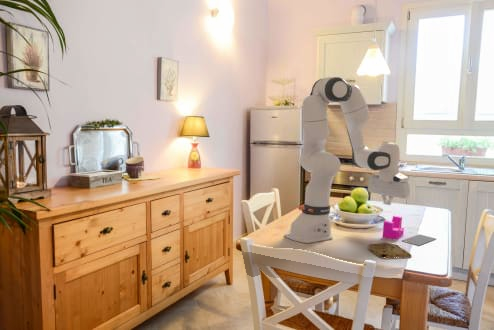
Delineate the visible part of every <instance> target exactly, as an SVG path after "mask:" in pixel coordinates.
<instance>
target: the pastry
mask: <svg viewBox="0 0 494 330" xmlns="http://www.w3.org/2000/svg"><path fill="white" fill-rule="evenodd" d="M367 247H368V248H369V250H370V251H371V252H372V253H373V252H374V253H373V254H375V255H376V256H377V255H378V256H377V257H379V258H380V257H385V258H391V259H397V258H396V257H408V258H407V259H411V258H412V254H411V253H410V252H409V251H407V250H406V249H403V247H402V248H401V246H399V245H397V244H395V243H391V242H382V243H379V242H377V243H370V244H368V245H367ZM394 257H395V258H394ZM385 258H384V259H385Z"/></svg>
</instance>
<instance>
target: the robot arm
mask: <svg viewBox="0 0 494 330" xmlns="http://www.w3.org/2000/svg"><path fill="white" fill-rule="evenodd" d="M331 103H338V104H339V106H340V108H341V111H342V114H343V117H344V121H345V123H346V130H347V131H346V132H347V135H348V139H349V143H350V147H351V159H352V163H353V165H354V166H355V167H357V168H360V169H365V170H369V171H370V170H371V171H378V173H377V174H376V173H372V174H370V175H369V176H368V179H369V180H368V184H367V191H368V193H370V194H372V193H373V194H377V195H381V198H382V201H383V204H384V205H388V206H391V204H392V203H391V202H392V201H393V199H394V198H397V199H398V198H399V199H405V200H406V199H407V198H409V197H410V184H409V179H410V178H409V176H406V175H404V174H403V173H401V172H399V170H400V169H399V164H400V153H401V152H400V146H399V145H398V144H397V143H395V142H388V141H383V142H381V144H380V145H378V146H377V147H375V148H368V147H367V146H366V144H365V141H364V137H363V133H362V128H363V127H364V126H366V124H367V123H368V121H369V120H370V117H371V116H370V115H371V114H370V110H369V106H368V103H367V100H366V99H365V96H364V94H363V93H362V90H361V89H360V88H359V86H358V85H357V84H350V83H348V81H346V80H345V78H342V77H339V76H334V77H331V76H327V77H324V78H323V77H322V78H320V79H318V80H316V81H315V82H314V84H313V85H312V87H311V91H310V93H309V95H308V96H306V97H305V98H304V99H303V100H302V108H301V109H302V110H301V111H302V112H301V114H302V116H301V117H302V118H301V119H302V129H303V148H302V153H301V154H300V156H299V164H300V166H301V168H303V169H304V170H305V171H306V172H308V173H311V174H310V175H311V176H310V180H309V182H308V183H307V185H306V186H305V195H304V198H305V199H304V204H303V205H299V206H297V207H298V210H299V211H301V213H300V214H299V215H298V216H296V218H295V219H294V220H293V221H292V222H291V225H290V228H289V229H290V231H287V232H286V233H284V237H285V238H288V239H290V240H292V241H295V242H299V243H304V244H310V243H315V242H316V243H317V242H322V241H328V240H333V235H332V227H331V226H332V223H331V218H330V213H331V205H330V198H331V188H332V185H333V181H334V178H335V176H337V174H338V173H339V172H340V169H341V165H342V164H341V160H340V159H339V157H338V156H336V155H335V154H334V153H332V152H328V151H326V146H327V145H326V144H327V140H328V139H329V137H330V132H329V131H330V130H329V119H328V106H329V105H330V104H331ZM387 196H388V199H387Z"/></svg>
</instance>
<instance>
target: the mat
mask: <svg viewBox="0 0 494 330" xmlns="http://www.w3.org/2000/svg"><path fill="white" fill-rule="evenodd" d="M436 240H437V238H435V237H432V236H428V235H423V234H416V235H413V236H411V237H408V238H405V239H402V240H401V242H403V241H407V242H409V243H408V244H410V243H411V245H414V246H416V247H417V246H418V247H420V246H423V245H426V244H428V243H430V242H433V241H436Z"/></svg>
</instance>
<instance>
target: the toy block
mask: <svg viewBox="0 0 494 330" xmlns="http://www.w3.org/2000/svg"><path fill="white" fill-rule="evenodd" d="M402 220H403V216H399V215H398V216H397V215H393V216H392V218H391V220H384V221H383V225H382V227H383V228H382V238H385V237H387V238H386V239H389V238H392V239H391V240H394V239H397V240H398V239H400V238H401V237H402V236H404V233H405V232H404V229H405V227H402V224H403V223H402ZM400 236H401V237H400ZM399 237H400V238H399Z"/></svg>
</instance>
